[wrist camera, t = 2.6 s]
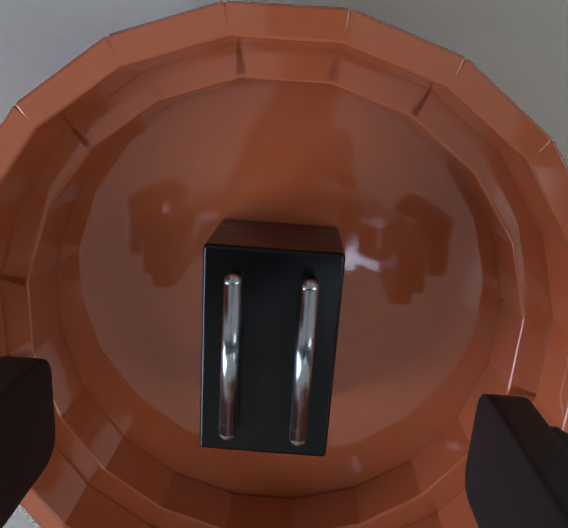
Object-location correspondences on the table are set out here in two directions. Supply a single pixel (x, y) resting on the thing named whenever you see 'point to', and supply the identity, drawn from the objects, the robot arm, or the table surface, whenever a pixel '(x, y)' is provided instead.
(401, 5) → the table surface
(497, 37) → the table surface
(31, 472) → the robot arm
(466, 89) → the bowl
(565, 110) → the table surface
